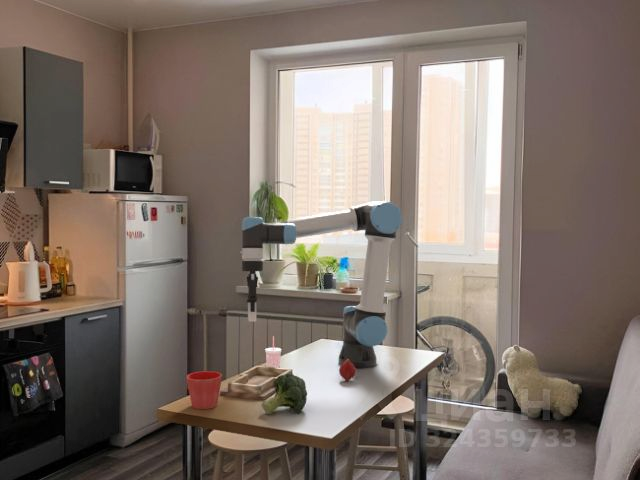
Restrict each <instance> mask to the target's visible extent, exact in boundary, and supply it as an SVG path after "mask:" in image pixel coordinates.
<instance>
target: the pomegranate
mask: <svg viewBox="0 0 640 480" xmlns="http://www.w3.org/2000/svg"><path fill="white" fill-rule="evenodd" d="M338 372H339V375H340V376H341V378H342V379H343V380H345V381H347V382H349V381H350V380H351V379H352V378H354V376H355V375H356V368H355V367H354V365H353V364H352V363H351V362H350V361H349V359H347V360H346V361H345V362H344V363H343V364H342V365H340V367H339V370H338Z"/></svg>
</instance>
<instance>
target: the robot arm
mask: <svg viewBox="0 0 640 480" xmlns="http://www.w3.org/2000/svg"><path fill="white" fill-rule="evenodd" d="M402 221H403V215H402V211H401V209H399V207H398V206H397V205H396V204H394V203H393V202H390V201H387V200H383V201H382V200H380V201H378V200H377V201H373V200H372V201H370V202H365V203H363V204H359V205H356V206H355V205H354V206H351V207H350V208H348V209H347V210H342V211H341V210H340V211H335V212H328V213H327V212H326V213H321V214H317V215H311V216H310V215H309V216H305V217H304V216H303V217H297V218H292V219H286V220H278V221H270V222H268V223H267V222H264V219H263V217H259V216H258V217H256V216H247V217H244V218H242V222H241V223H242V225H241V250H240V252H239V253H240V254H241V258H242V259H241V260H242V261H241V271H242V272H248V274H247V276H246V282H247V283H246V284H247V286H246V287H247V288H248V295H247V300H246V303H247V319H248V322H257V301H258V297H257V288H258V282H259V276H258V275H257V272H263V271H264V262H263V261H262V260H263V259H264V245H293V244H295V243H296V241H297V239H300V238H306V237H307V238H308V237H312V236H319V235H325V234H330V233H336V232H342V231H348V230H352V231H354V232H357V231H364V236H365V238H366V239H367V245H366V246H367V247H366V251H365V252H366V254H365V263H364V269H363V277H362V278H363V279H362V285H361V293H360V302H359V303H358V304H357V305H348V306H345V307H343V313H342V316H343V317H342V318H343V319H342V320H343V324H342V329H343V330H342V336H343V337H342V338H343V339H342V341H343V342H342V346H341V349H340V351H339V356H338V364H339V365H340V366H341V365H342V364H343V363H344V362H345V361H346V360H347V359H349V361H350V362H351V363H352V364H353V365H354V367H355V369H356V368H358V369H359V368H361V369H362V368H372V367H374V366H376V365H377V363H378V362H377V361H378V360H377V355H376V353H375V347H377V346H379V345H380V344H382V343H383V342H384V340H385V339H386V338H387V336H388V325H387V322H386V316H387V315H386V314H387V310H386V308H384V298H385V291H386V282H387V276H388V275H387V274H388V268H389V261H390V252H391V244H392V242H394V241H395V240H396V238H397V230H399V228H400V226H401V225H402Z"/></svg>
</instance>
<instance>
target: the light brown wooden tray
mask: <svg viewBox="0 0 640 480" xmlns="http://www.w3.org/2000/svg"><path fill="white" fill-rule="evenodd" d="M288 373H292V374H293V369H291V368H283V367H280V368H274V367H267V366H262V365H255V366H253V367H251V368H249V369H248V370H245V371H244V372H242V373H240V374H239V376H238V377H237V378H235V379H233V380H232V381H229V382H227V387H225V388H223V389H222V390H220V392H219V395H220V396H227V397H235V398H244V399H252V400H259V401H266V400H268V398H269V397H270V398H271V396H273V395H275V393H276V391H275V388H276V387H274V381H275V379H276V378H278V377H279V376H281V375H286V374H288Z"/></svg>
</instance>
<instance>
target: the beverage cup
mask: <svg viewBox="0 0 640 480" xmlns="http://www.w3.org/2000/svg"><path fill="white" fill-rule="evenodd" d="M264 351H265V356H266V357H265V358H266V360H265V361H266V367H274V368H281V358H282V357H281V355H282V348H280V347H275V336H274V335H273V336H272V347H267V348H265V349H264Z"/></svg>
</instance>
